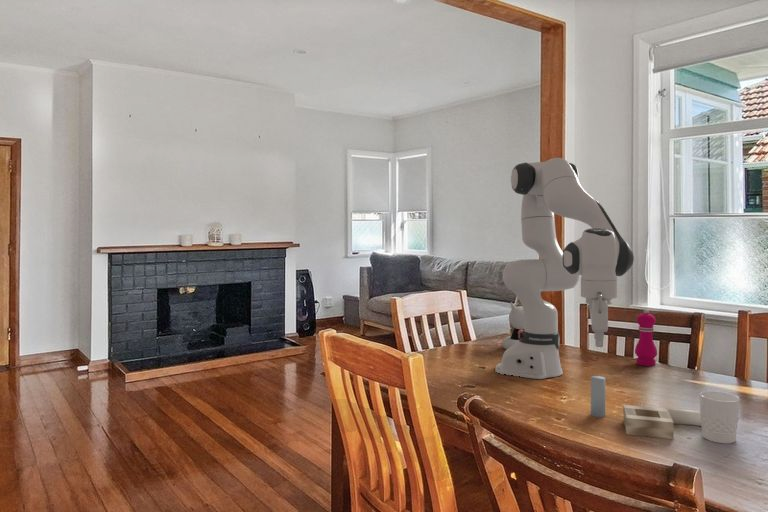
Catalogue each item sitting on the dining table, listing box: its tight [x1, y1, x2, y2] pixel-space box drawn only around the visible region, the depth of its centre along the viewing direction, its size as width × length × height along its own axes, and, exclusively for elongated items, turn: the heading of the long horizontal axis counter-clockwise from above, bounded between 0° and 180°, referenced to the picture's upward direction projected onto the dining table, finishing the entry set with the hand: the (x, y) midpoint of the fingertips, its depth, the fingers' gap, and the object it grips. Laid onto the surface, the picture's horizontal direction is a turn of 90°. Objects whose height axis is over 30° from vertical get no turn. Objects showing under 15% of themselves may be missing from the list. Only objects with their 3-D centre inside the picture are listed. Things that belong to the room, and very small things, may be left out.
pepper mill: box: [634, 308, 658, 367], centre depth 192 cm, size 7×7×20 cm
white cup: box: [699, 390, 740, 444], centre depth 125 cm, size 8×8×10 cm
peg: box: [590, 375, 606, 418], centre depth 141 cm, size 4×4×10 cm
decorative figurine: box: [501, 301, 524, 351], centre depth 218 cm, size 15×15×20 cm
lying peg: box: [665, 407, 702, 427], centre depth 134 cm, size 10×4×4 cm
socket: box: [622, 404, 675, 440], centre depth 131 cm, size 10×10×4 cm
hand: (598, 342), depth 140 cm, fingers open, 8 cm apart
